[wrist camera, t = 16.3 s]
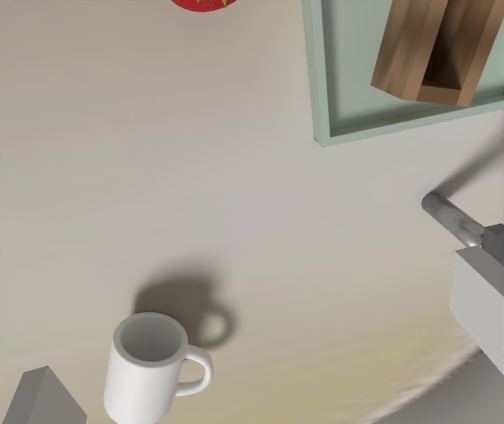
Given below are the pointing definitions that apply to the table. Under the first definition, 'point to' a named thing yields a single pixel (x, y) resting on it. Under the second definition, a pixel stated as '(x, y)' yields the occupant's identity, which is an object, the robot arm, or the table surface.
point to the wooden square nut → (436, 49)
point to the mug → (149, 368)
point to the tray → (361, 71)
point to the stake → (465, 226)
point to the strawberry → (203, 4)
